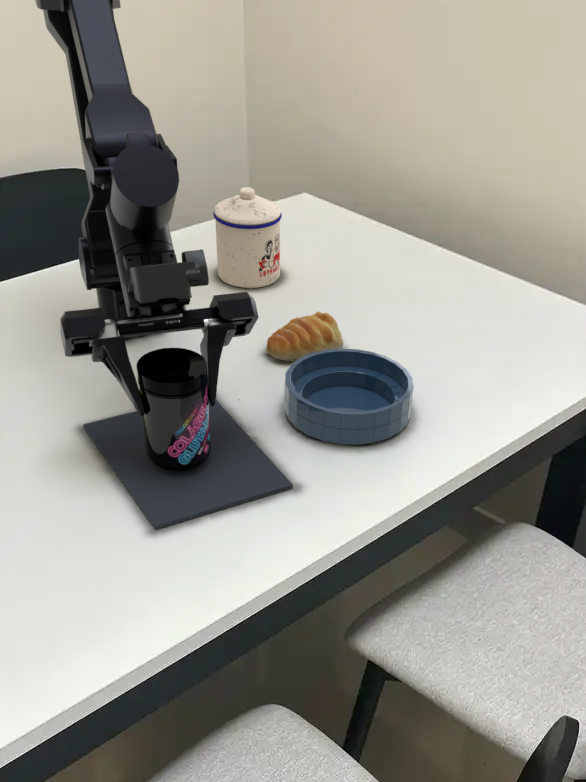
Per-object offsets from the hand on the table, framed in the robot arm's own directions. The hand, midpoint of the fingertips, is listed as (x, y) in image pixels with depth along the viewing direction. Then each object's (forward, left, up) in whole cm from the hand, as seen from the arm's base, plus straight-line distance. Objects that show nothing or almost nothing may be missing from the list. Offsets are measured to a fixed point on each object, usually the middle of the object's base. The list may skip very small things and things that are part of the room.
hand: (177, 410), depth 94 cm
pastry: (-17, +24, -7) cm, 31 cm away
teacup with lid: (-40, +28, -7) cm, 50 cm away
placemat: (-2, +1, -7) cm, 8 cm away
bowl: (-2, +21, -7) cm, 22 cm away
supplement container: (-1, 0, -6) cm, 7 cm away
